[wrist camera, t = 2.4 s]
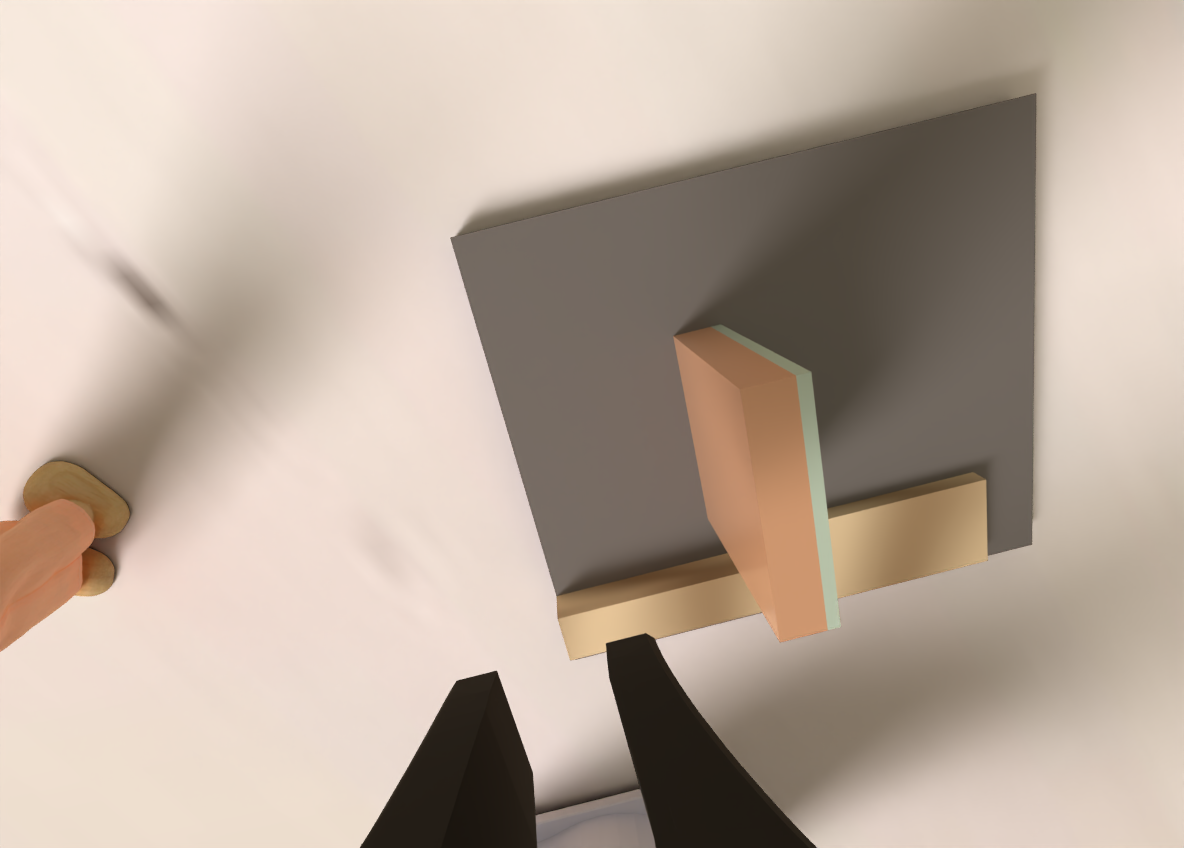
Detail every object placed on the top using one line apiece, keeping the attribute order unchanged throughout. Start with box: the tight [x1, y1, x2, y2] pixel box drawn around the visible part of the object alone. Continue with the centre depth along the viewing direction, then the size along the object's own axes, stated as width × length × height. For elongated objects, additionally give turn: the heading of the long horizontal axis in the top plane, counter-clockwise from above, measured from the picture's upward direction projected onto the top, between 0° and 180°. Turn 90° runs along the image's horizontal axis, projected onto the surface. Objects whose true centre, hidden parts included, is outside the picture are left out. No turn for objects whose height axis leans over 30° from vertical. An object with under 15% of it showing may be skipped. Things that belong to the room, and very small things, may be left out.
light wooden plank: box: [557, 472, 988, 660], centre depth 19 cm, size 14×3×1 cm, turn 103°
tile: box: [673, 324, 841, 642], centre depth 15 cm, size 1×6×6 cm, turn 13°
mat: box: [450, 93, 1036, 660], centre depth 18 cm, size 16×14×1 cm
